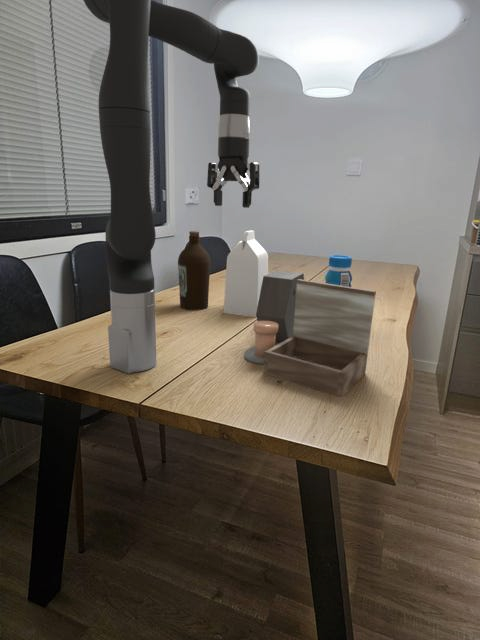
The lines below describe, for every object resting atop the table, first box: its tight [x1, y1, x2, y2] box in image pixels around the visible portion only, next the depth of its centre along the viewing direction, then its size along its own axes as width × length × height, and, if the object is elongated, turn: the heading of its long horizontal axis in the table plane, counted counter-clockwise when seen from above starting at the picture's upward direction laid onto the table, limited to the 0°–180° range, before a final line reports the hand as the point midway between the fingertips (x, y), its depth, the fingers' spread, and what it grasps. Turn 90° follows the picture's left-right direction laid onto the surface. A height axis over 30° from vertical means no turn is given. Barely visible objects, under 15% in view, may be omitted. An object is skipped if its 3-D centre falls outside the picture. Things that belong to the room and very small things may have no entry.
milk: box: [223, 230, 269, 318], centre depth 137 cm, size 12×12×26 cm
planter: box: [255, 270, 305, 343], centre depth 114 cm, size 17×8×21 cm
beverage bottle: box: [324, 254, 353, 287], centre depth 131 cm, size 8×8×20 cm
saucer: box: [243, 347, 264, 365], centre depth 101 cm, size 9×9×1 cm
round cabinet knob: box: [252, 321, 278, 358], centre depth 100 cm, size 6×6×8 cm
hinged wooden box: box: [262, 279, 377, 398], centre depth 90 cm, size 14×18×19 cm
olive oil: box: [177, 230, 211, 311], centre depth 139 cm, size 11×11×25 cm
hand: (231, 206), depth 106 cm, fingers open, 8 cm apart
